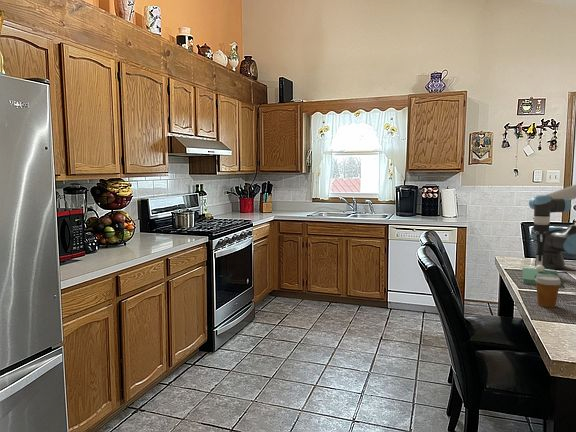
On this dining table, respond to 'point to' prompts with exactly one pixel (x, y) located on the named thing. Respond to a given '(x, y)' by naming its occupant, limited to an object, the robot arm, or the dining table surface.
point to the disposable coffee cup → (547, 290)
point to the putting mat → (531, 274)
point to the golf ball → (540, 268)
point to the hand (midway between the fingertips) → (539, 266)
